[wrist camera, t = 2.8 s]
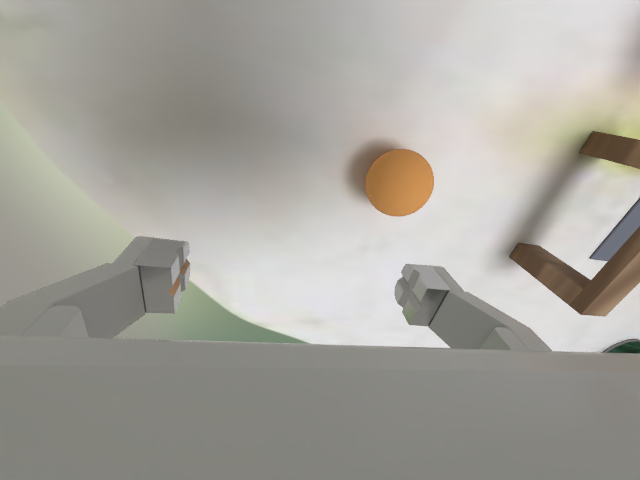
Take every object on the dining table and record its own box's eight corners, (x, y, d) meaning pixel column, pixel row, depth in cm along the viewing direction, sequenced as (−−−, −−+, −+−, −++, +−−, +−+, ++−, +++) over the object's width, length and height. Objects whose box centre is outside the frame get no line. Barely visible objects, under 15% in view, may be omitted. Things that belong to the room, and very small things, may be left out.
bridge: (509, 257, 33) (580, 314, 25) (593, 131, 26) (729, 156, 18) (529, 259, 33) (605, 316, 26) (617, 137, 26) (758, 164, 19)
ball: (368, 136, 23) (390, 153, 19) (425, 148, 25) (459, 166, 20) (351, 196, 26) (367, 223, 21) (403, 204, 27) (429, 231, 23)
